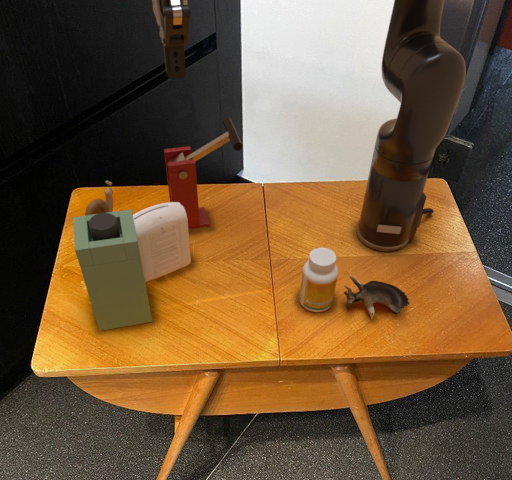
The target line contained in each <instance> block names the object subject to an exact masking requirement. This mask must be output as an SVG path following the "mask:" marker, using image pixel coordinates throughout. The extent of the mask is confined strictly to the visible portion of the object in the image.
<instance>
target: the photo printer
mask: <svg viewBox="0 0 512 480" xmlns="http://www.w3.org/2000/svg"><path fill="white" fill-rule="evenodd" d="M133 219H134V224H135V229H136V235H137V240H138V246H139V251H140V256H141V262H142V267H143V272H144V278H145V283H147V282H150V281H153V280H156V279H158V278H161V277H163V276H166V275H168V274H171V273H174V272H175V271H178V270H181V269H183V268H185V267H188V266H189V265H190V264H191V263H192V258H191V247H190V234H189V229H188V219H187V214H186V211H185V209H184V207H183V206H182V205H181V204H180V203H179V202H170V201H168V202H162V203H158V204H154V205H151V206H148V207H146V208H143V209H141V210H139V211H137V212H135V213H133Z"/></svg>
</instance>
